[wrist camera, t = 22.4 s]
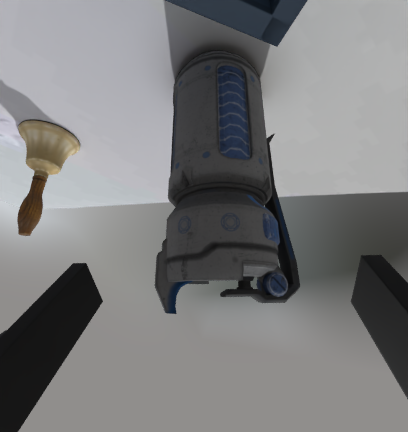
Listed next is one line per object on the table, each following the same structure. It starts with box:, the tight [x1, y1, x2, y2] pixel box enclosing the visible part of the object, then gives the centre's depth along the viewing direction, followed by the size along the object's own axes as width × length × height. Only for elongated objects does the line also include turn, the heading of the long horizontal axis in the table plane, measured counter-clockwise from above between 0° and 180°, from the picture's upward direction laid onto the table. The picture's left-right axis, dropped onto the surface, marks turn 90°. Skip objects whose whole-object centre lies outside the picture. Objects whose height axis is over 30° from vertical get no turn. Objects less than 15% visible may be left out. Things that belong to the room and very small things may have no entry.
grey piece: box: [155, 51, 300, 314], centre depth 23 cm, size 10×13×25 cm
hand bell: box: [18, 120, 80, 236], centre depth 34 cm, size 8×8×16 cm
